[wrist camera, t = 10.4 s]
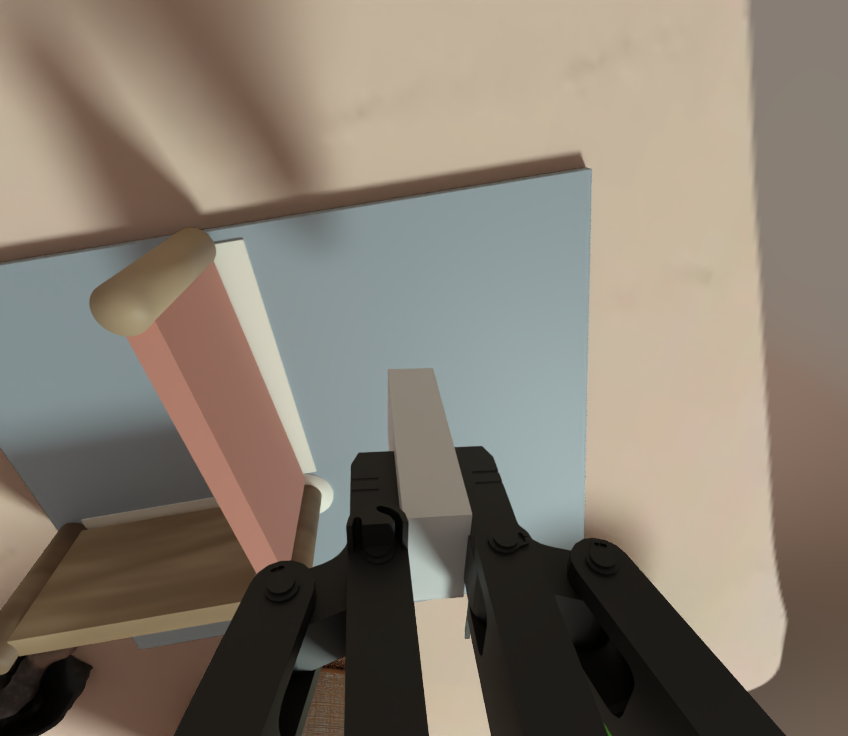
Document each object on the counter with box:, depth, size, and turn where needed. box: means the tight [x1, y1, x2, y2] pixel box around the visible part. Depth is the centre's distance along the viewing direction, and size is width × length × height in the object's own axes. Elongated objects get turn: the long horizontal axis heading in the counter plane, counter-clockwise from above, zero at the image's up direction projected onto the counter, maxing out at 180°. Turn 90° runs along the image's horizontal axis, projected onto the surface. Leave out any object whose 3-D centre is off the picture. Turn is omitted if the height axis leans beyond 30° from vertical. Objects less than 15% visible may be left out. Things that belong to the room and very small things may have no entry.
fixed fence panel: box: [0, 485, 322, 675], centre depth 24 cm, size 2×14×8 cm, turn 98°
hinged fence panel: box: [89, 227, 305, 574], centre depth 19 cm, size 13×2×6 cm, turn 11°
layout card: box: [0, 167, 592, 649], centre depth 26 cm, size 24×28×1 cm
